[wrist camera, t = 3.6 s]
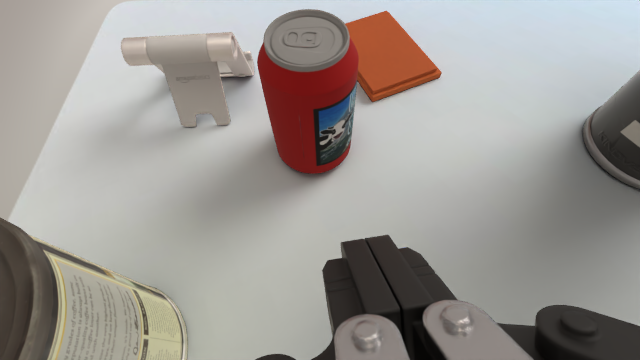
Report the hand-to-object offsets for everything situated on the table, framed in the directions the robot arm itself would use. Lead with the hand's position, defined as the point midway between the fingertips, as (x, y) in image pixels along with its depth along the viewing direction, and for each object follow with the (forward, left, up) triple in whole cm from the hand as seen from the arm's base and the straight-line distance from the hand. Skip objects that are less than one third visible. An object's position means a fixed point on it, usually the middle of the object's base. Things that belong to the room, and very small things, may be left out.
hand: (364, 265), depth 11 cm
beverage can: (-4, -15, -15) cm, 22 cm away
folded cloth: (-16, -23, -15) cm, 31 cm away
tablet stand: (+3, -25, -15) cm, 29 cm away
